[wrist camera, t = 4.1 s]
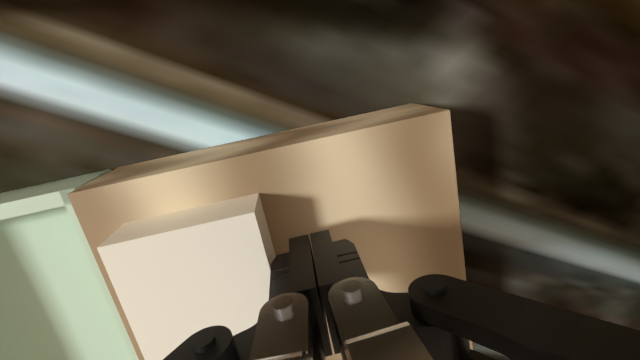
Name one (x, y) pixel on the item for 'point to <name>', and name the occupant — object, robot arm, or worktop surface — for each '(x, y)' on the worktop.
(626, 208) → the worktop surface
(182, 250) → the white tile
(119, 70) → the worktop surface
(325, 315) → the robot arm
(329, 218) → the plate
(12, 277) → the box
